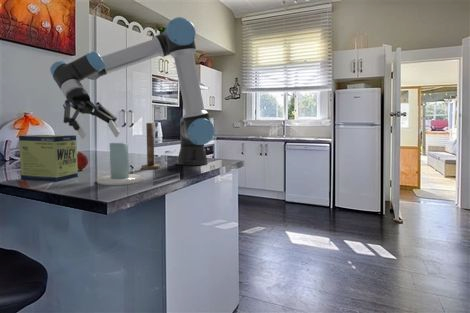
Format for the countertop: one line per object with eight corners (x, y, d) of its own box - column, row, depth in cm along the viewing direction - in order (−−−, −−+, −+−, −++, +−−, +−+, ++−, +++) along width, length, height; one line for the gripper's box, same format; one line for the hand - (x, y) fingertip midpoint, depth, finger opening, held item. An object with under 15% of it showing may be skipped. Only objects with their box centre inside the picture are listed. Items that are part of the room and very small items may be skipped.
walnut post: (152, 166, 147) (151, 123, 145) (163, 167, 142) (163, 123, 140) (137, 168, 140) (136, 123, 138) (149, 170, 136) (148, 123, 133)
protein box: (57, 181, 108) (55, 136, 106) (20, 179, 112) (17, 135, 110) (79, 176, 118) (77, 135, 116) (44, 174, 122) (42, 134, 120)
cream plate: (126, 175, 121) (126, 172, 121) (151, 180, 112) (151, 177, 112) (88, 181, 109) (88, 178, 109) (112, 187, 100) (112, 183, 100)
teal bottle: (122, 175, 115) (121, 142, 113) (132, 177, 111) (131, 143, 110) (107, 177, 110) (106, 143, 109) (117, 179, 106) (115, 144, 105)
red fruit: (81, 168, 137) (80, 150, 136) (91, 169, 135) (90, 151, 134) (69, 170, 132) (69, 151, 131) (80, 171, 130) (79, 152, 129)
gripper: (101, 103, 132) (126, 140, 126) (38, 99, 111) (63, 144, 105) (108, 90, 129) (134, 127, 122) (45, 83, 108) (72, 128, 101)
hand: (102, 135), depth 114 cm, fingers open, 13 cm apart
